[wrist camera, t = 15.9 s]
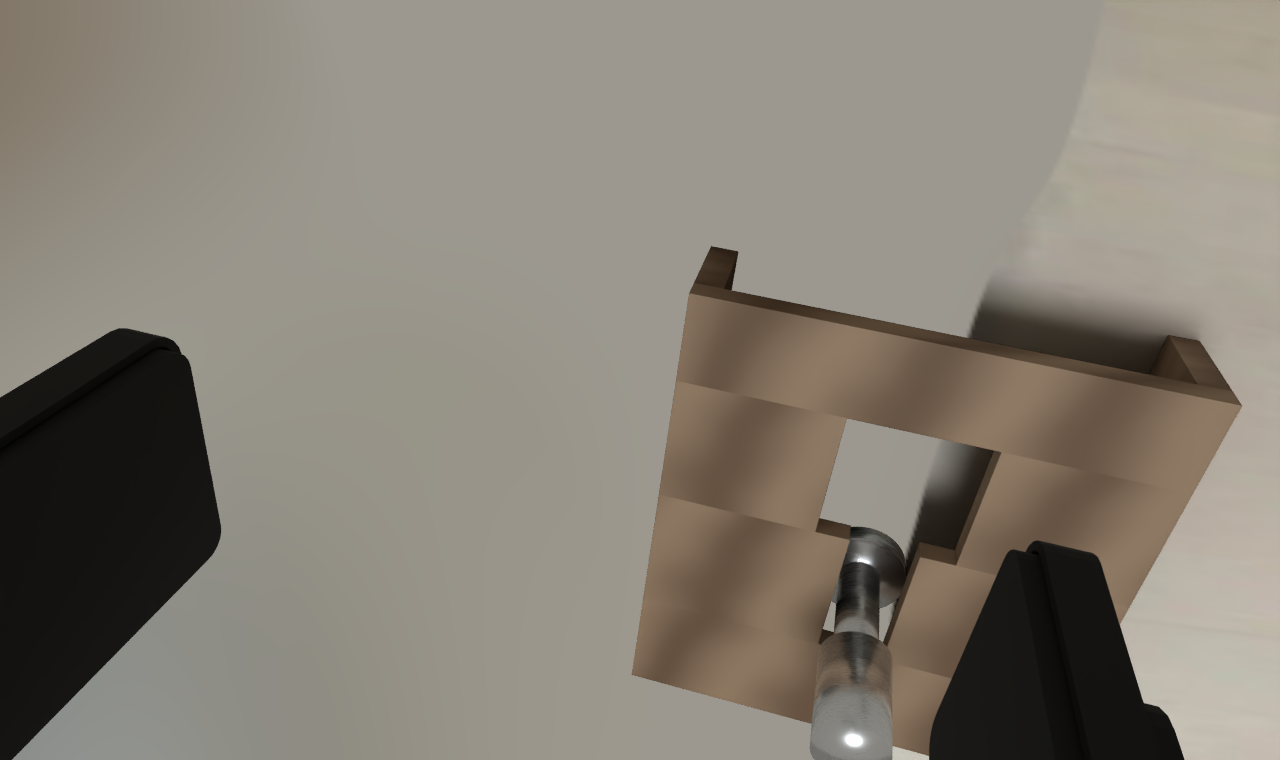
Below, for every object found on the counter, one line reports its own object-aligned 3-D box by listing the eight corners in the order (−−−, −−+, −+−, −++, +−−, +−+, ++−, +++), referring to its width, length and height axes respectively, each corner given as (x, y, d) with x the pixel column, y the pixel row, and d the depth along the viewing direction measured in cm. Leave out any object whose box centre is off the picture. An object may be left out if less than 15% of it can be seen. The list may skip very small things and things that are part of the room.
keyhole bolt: (915, 539, 43) (921, 732, 34) (892, 602, 45) (892, 801, 36) (826, 517, 44) (806, 701, 34) (807, 581, 46) (785, 770, 37)
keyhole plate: (1200, 341, 35) (1242, 405, 31) (1017, 701, 47) (1030, 783, 43) (710, 246, 38) (689, 293, 34) (653, 606, 50) (631, 674, 45)
